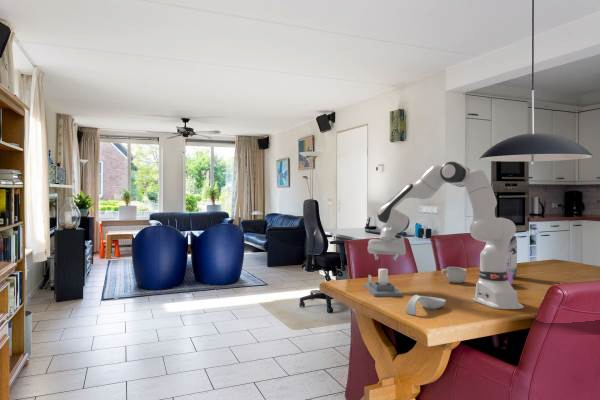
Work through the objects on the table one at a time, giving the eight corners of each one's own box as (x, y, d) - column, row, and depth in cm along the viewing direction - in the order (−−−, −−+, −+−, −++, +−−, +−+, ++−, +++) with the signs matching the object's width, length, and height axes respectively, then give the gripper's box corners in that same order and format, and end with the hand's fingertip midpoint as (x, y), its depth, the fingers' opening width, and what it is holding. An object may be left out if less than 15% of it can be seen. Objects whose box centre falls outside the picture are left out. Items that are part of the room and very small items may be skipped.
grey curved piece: (426, 302, 189) (426, 287, 189) (450, 307, 181) (450, 291, 181) (398, 312, 172) (398, 295, 172) (424, 318, 164) (424, 300, 164)
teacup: (463, 280, 239) (463, 266, 239) (468, 284, 228) (469, 270, 228) (438, 279, 240) (438, 266, 240) (443, 283, 229) (443, 269, 229)
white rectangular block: (389, 289, 208) (389, 269, 208) (382, 290, 206) (382, 270, 206) (384, 287, 212) (383, 268, 212) (376, 288, 210) (376, 268, 210)
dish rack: (402, 296, 200) (402, 283, 200) (374, 296, 199) (374, 283, 199) (388, 285, 224) (388, 273, 224) (363, 285, 223) (363, 274, 223)
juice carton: (500, 278, 246) (501, 233, 246) (498, 275, 256) (498, 232, 256) (517, 279, 243) (517, 234, 243) (514, 276, 253) (514, 232, 253)
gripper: (368, 235, 227) (365, 254, 218) (406, 236, 220) (404, 256, 211) (369, 242, 231) (366, 262, 222) (406, 243, 225) (405, 264, 216)
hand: (385, 259), depth 217 cm, fingers open, 8 cm apart
